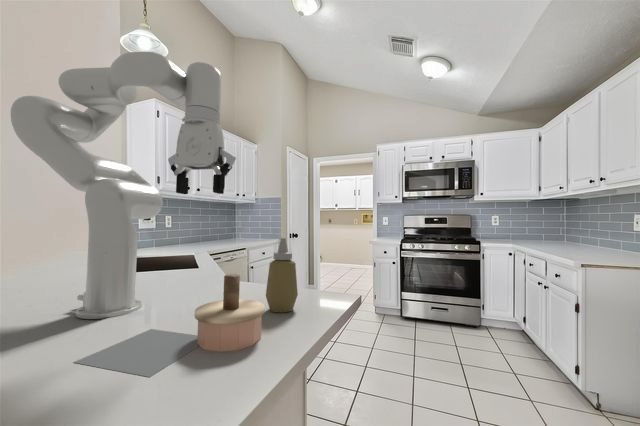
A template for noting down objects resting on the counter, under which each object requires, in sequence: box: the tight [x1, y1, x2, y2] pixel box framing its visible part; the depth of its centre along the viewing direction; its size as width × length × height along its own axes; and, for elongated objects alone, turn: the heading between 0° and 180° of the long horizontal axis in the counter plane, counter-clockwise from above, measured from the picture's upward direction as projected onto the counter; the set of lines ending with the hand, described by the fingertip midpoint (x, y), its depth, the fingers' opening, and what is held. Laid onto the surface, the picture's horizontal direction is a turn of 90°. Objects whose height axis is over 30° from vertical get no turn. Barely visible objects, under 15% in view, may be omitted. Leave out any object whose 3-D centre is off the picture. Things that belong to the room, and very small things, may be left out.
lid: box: [194, 273, 266, 324], centre depth 52 cm, size 12×12×7 cm
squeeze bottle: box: [265, 237, 299, 313], centre depth 71 cm, size 8×8×18 cm
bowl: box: [197, 315, 263, 353], centre depth 52 cm, size 11×11×5 cm
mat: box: [73, 328, 201, 378], centre depth 47 cm, size 14×14×1 cm
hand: (199, 193), depth 65 cm, fingers open, 9 cm apart
